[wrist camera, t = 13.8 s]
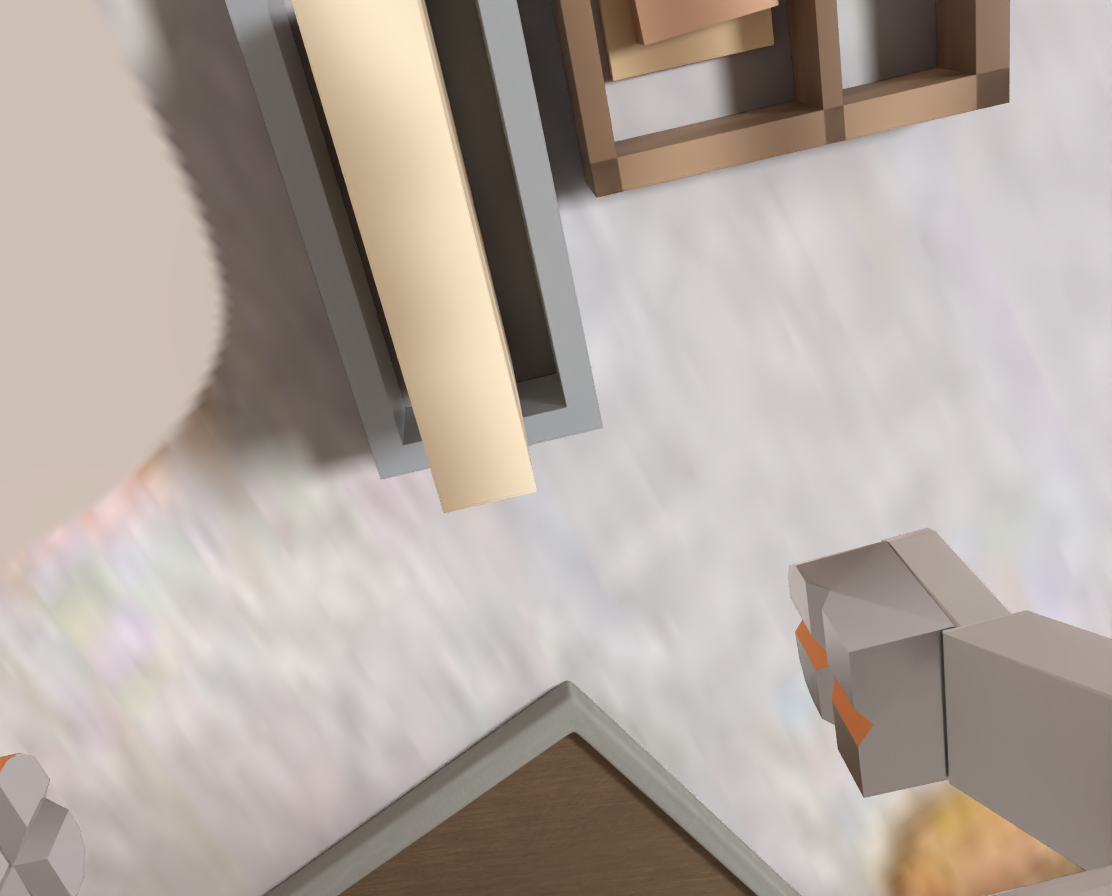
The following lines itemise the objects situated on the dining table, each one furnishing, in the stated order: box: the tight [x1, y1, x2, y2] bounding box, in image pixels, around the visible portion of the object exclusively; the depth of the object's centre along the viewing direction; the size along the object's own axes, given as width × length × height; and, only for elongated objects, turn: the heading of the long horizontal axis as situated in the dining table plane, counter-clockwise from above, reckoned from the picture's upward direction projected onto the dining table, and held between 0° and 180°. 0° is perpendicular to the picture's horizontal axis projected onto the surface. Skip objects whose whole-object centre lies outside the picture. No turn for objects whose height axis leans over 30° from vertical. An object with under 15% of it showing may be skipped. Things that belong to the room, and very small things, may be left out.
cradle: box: [225, 0, 603, 479], centre depth 29 cm, size 7×16×3 cm, turn 11°
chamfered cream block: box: [291, 0, 537, 513], centre depth 26 cm, size 2×12×10 cm, turn 12°
